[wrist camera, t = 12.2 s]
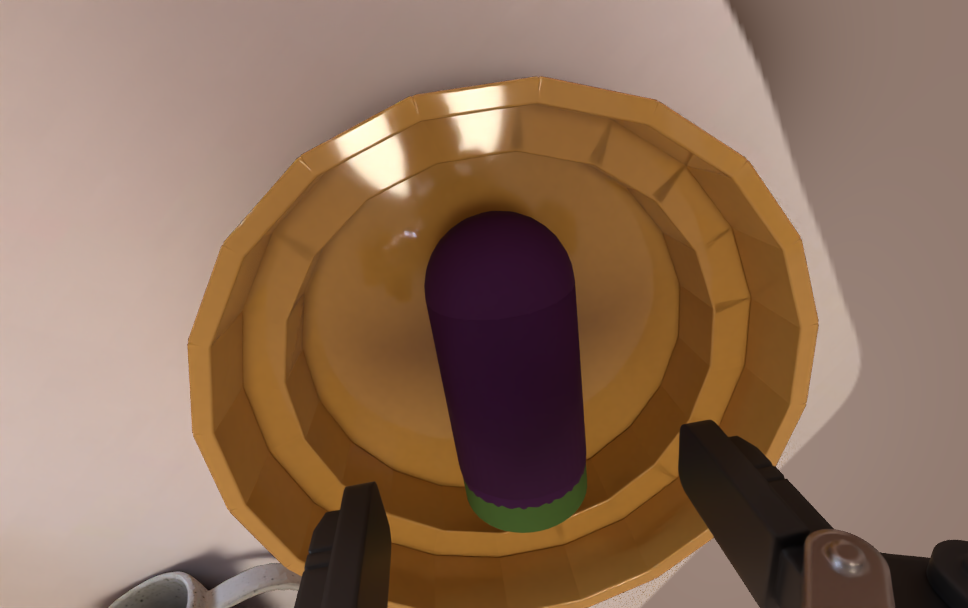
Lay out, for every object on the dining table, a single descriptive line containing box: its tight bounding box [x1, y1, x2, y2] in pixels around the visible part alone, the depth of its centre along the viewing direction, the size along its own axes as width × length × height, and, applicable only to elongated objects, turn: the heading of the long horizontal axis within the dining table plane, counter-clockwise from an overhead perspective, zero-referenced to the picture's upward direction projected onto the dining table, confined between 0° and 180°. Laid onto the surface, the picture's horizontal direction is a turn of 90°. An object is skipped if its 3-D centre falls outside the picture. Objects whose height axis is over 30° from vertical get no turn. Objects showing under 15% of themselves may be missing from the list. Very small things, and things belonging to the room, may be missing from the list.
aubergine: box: [424, 211, 587, 533], centre depth 18 cm, size 12×5×5 cm, turn 8°
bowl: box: [187, 76, 819, 608], centre depth 18 cm, size 19×19×6 cm
